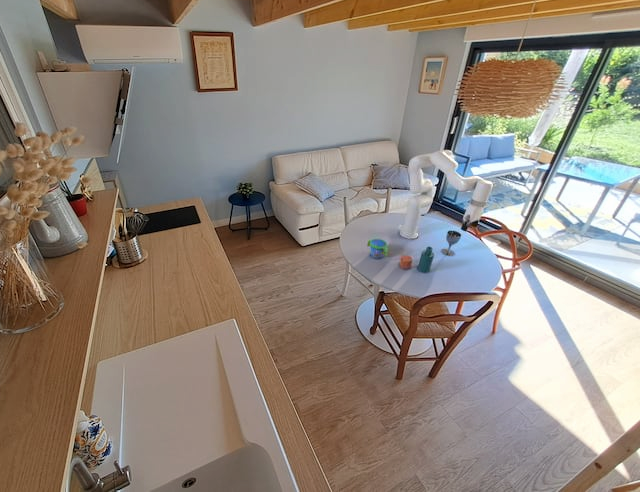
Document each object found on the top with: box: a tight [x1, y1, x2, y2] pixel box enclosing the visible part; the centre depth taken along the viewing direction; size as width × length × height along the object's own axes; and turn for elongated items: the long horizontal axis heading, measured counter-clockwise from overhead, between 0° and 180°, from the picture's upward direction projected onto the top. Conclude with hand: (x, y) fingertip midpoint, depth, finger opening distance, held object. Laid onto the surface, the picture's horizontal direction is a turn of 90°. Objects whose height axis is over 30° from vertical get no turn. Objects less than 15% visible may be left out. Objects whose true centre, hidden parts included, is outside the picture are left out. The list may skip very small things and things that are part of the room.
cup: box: [399, 254, 413, 270], centre depth 179 cm, size 6×6×6 cm
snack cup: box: [366, 238, 389, 259], centre depth 188 cm, size 16×10×10 cm
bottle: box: [416, 246, 435, 274], centre depth 174 cm, size 7×7×16 cm
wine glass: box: [441, 230, 462, 257], centre depth 189 cm, size 8×8×15 cm
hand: (468, 228), depth 168 cm, fingers open, 9 cm apart
